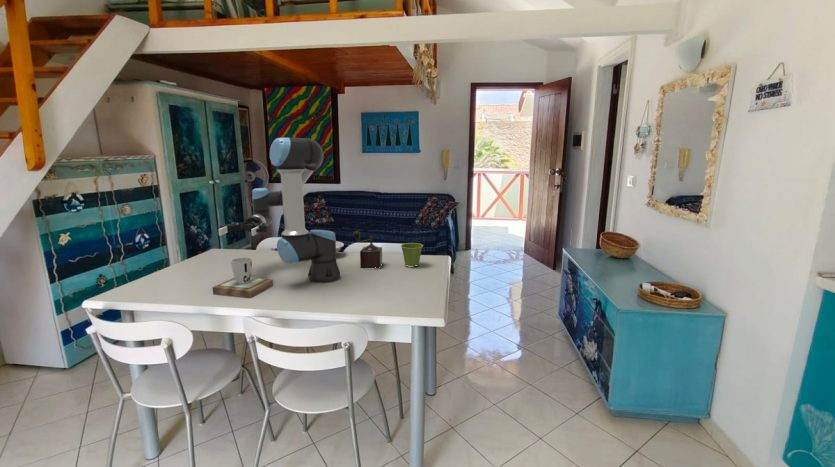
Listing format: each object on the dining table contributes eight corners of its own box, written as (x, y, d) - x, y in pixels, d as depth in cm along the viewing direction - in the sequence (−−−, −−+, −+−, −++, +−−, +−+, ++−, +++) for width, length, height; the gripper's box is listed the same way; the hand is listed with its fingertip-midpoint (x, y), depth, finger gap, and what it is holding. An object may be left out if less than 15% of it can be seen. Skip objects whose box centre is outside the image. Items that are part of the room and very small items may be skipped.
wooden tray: (273, 285, 177) (272, 278, 176) (250, 298, 162) (249, 290, 161) (238, 282, 181) (237, 275, 180) (213, 294, 166) (212, 286, 165)
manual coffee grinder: (383, 263, 214) (382, 230, 211) (379, 269, 203) (379, 235, 200) (354, 262, 215) (354, 230, 212) (350, 268, 204) (349, 234, 201)
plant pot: (398, 263, 214) (398, 243, 212) (419, 262, 217) (419, 242, 215) (403, 269, 203) (403, 248, 200) (425, 268, 206) (425, 247, 203)
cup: (245, 285, 166) (244, 262, 164) (228, 284, 168) (226, 261, 166) (257, 280, 174) (255, 258, 172) (240, 278, 176) (238, 257, 174)
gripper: (282, 231, 187) (266, 241, 167) (228, 231, 187) (206, 241, 166) (281, 215, 186) (265, 223, 165) (227, 215, 185) (204, 223, 164)
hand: (236, 232), depth 166 cm, fingers open, 13 cm apart
